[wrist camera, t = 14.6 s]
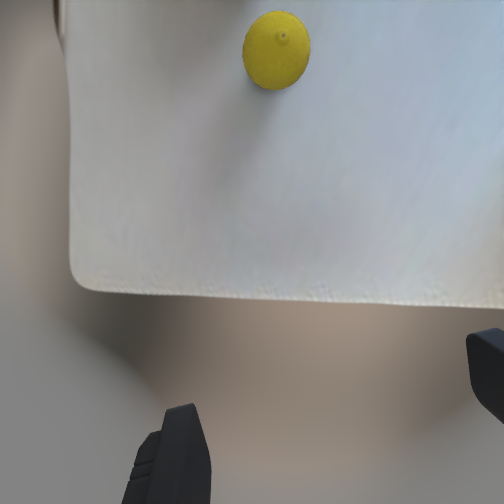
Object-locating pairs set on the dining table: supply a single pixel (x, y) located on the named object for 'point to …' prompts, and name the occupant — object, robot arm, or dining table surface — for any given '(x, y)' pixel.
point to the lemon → (276, 50)
